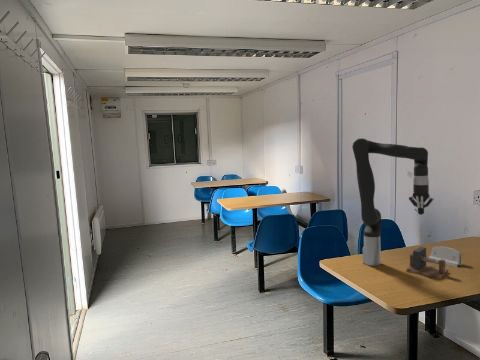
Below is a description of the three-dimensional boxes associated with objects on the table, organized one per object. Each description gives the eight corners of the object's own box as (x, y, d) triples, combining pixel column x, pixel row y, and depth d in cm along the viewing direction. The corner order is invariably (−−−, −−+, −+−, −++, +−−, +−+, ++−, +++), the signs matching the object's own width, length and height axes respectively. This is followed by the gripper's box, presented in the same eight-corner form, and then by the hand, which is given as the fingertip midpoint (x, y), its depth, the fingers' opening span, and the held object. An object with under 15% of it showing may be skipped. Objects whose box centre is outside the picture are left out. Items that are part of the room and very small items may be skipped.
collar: (413, 268, 188) (413, 251, 187) (420, 263, 195) (420, 246, 194) (418, 269, 186) (418, 252, 185) (426, 264, 193) (426, 247, 192)
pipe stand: (406, 271, 190) (406, 256, 189) (415, 265, 198) (415, 251, 197) (440, 279, 177) (440, 263, 177) (448, 272, 185) (448, 257, 184)
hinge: (427, 260, 206) (430, 243, 207) (431, 260, 208) (434, 244, 209) (457, 267, 192) (460, 249, 193) (461, 268, 194) (464, 250, 195)
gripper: (405, 183, 191) (406, 214, 193) (431, 185, 182) (431, 217, 183) (411, 182, 196) (411, 212, 198) (436, 183, 186) (436, 214, 188)
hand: (421, 214), depth 191 cm, fingers closed
